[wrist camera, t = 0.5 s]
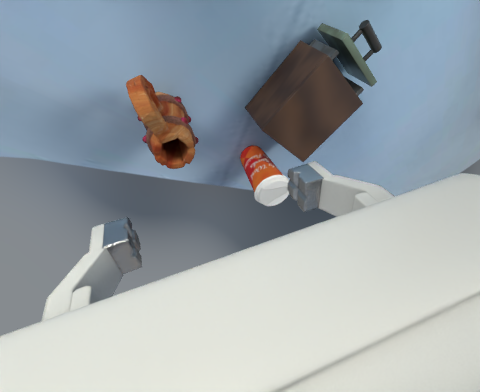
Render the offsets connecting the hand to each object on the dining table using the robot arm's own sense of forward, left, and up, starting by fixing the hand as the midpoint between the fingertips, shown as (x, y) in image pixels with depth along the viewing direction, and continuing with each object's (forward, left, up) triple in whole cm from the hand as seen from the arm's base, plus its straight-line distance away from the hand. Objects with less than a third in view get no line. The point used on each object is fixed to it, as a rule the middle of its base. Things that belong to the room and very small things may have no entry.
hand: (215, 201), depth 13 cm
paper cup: (+28, +16, -40) cm, 51 cm away
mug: (+11, -2, -40) cm, 41 cm away
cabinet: (+15, +25, -40) cm, 49 cm away
